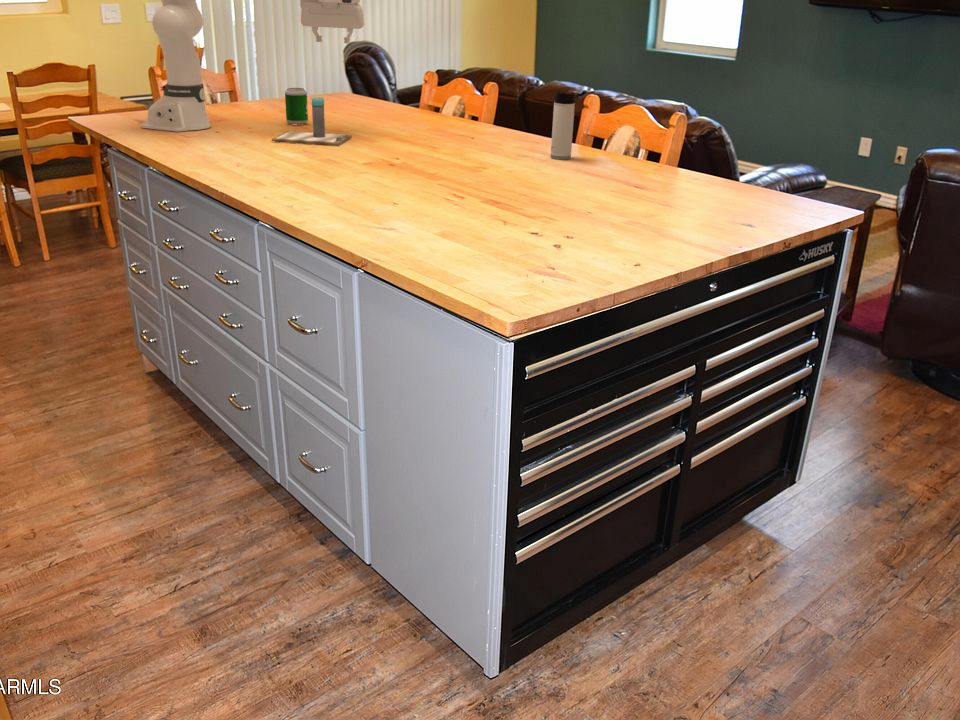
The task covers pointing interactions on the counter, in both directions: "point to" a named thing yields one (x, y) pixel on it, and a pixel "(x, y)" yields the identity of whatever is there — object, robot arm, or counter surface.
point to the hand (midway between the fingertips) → (333, 42)
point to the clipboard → (312, 138)
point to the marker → (318, 117)
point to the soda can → (296, 106)
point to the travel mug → (562, 126)
